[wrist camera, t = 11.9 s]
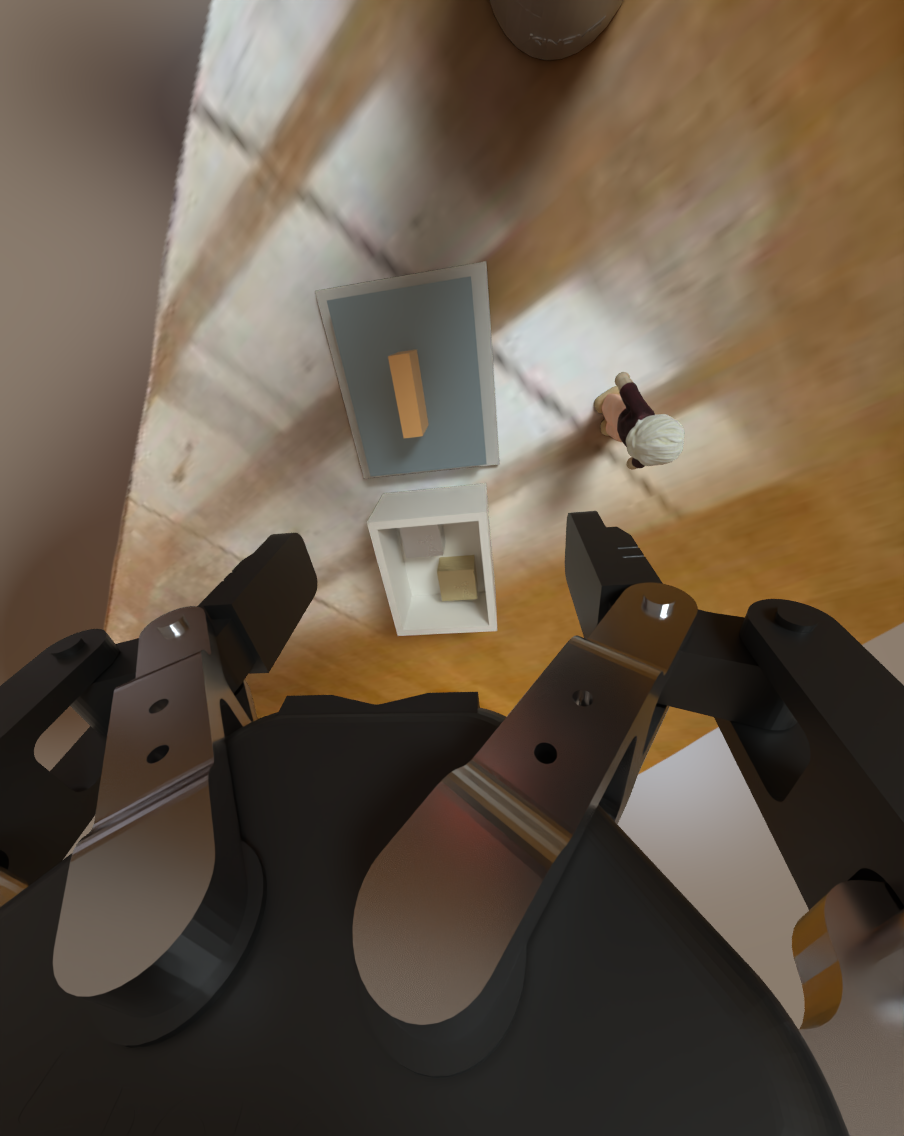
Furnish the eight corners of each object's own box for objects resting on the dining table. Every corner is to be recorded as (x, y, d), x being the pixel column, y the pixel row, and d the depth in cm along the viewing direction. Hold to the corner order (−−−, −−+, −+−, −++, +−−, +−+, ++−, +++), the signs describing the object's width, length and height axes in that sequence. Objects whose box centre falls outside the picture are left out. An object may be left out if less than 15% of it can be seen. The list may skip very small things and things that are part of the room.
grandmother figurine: (647, 432, 36) (714, 480, 26) (607, 454, 38) (655, 508, 27) (617, 354, 33) (680, 371, 22) (575, 380, 34) (615, 409, 24)
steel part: (403, 512, 42) (398, 524, 39) (440, 508, 41) (437, 521, 39) (410, 544, 44) (406, 558, 41) (445, 541, 43) (443, 555, 41)
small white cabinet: (383, 493, 42) (366, 522, 36) (486, 483, 40) (486, 511, 34) (408, 597, 49) (397, 635, 43) (495, 592, 48) (497, 630, 42)
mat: (316, 291, 32) (314, 290, 32) (486, 261, 30) (486, 261, 30) (365, 477, 41) (363, 478, 40) (499, 462, 39) (499, 464, 38)
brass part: (439, 557, 44) (436, 571, 42) (474, 554, 44) (473, 569, 41) (444, 585, 47) (442, 601, 44) (477, 583, 46) (477, 599, 44)
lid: (333, 301, 32) (307, 298, 27) (471, 278, 31) (469, 271, 26) (374, 470, 40) (359, 492, 35) (486, 458, 38) (486, 479, 33)
